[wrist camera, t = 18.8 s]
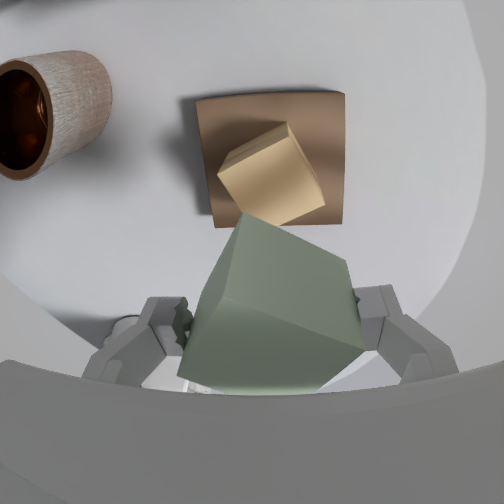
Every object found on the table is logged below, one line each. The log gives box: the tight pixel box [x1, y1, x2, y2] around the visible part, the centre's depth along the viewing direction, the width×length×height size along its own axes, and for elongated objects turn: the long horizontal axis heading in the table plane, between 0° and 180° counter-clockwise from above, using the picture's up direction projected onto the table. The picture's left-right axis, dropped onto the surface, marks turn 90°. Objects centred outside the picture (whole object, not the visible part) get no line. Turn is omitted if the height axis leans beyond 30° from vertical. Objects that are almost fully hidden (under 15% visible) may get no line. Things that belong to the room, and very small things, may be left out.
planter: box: [0, 51, 112, 181], centre depth 21 cm, size 11×11×10 cm
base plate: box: [196, 91, 345, 228], centre depth 26 cm, size 12×12×2 cm
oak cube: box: [217, 122, 325, 227], centre depth 23 cm, size 6×6×6 cm
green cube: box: [176, 212, 366, 395], centre depth 11 cm, size 4×4×4 cm
